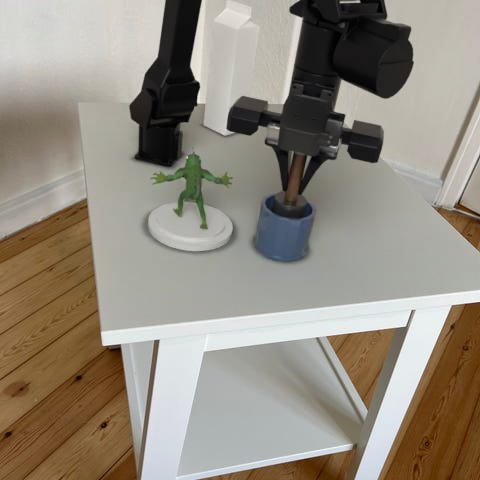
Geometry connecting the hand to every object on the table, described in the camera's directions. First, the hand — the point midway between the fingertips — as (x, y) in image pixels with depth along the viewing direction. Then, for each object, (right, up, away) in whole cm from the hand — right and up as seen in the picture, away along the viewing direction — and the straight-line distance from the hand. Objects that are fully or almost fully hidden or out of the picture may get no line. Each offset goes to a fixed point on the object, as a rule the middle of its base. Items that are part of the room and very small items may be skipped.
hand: (292, 191), depth 73 cm
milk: (-10, +21, +37) cm, 43 cm away
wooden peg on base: (-1, -4, +3) cm, 5 cm away
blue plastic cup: (-1, -6, +6) cm, 9 cm away
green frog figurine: (-14, -4, +6) cm, 16 cm away
